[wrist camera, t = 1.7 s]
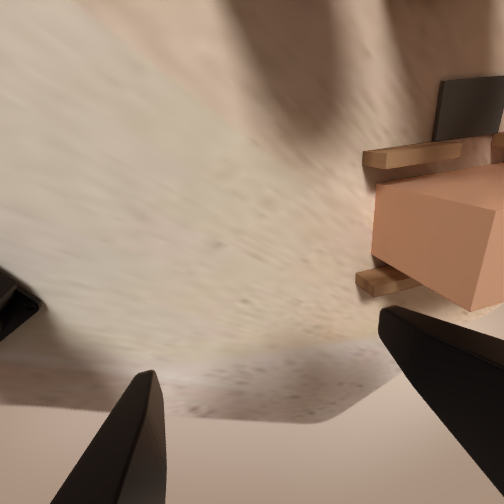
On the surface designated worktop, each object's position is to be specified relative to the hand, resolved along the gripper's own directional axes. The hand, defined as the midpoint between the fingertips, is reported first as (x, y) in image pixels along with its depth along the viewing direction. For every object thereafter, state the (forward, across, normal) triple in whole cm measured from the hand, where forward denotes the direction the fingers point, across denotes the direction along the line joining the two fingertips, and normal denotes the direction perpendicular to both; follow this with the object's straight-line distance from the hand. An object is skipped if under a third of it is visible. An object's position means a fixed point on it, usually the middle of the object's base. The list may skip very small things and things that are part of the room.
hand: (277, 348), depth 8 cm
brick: (+13, -20, +2) cm, 24 cm away
